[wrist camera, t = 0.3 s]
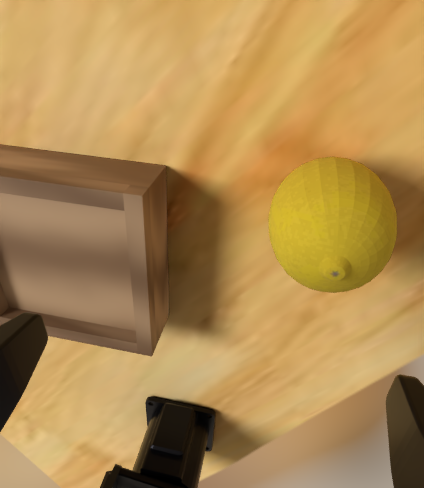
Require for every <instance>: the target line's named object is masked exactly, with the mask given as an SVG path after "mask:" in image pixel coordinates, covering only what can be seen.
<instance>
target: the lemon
mask: <svg viewBox="0 0 424 488" xmlns="http://www.w3.org/2000/svg"><path fill="white" fill-rule="evenodd" d="M268 222H269V237H270V241H271V244H272V247H273V250H274V253H275V255H276V258H277V260H278V262H279V263H280V264H281V266H282V267H283V268H284V270H285V271H286V272H287V274H288V275H290V276H291V277H292V278H293V279H294V280H296V281H297V282H298V283H300V284H302V285H304V286H306V287H308V288H310V289H314V290H317V291H321V292H333V293H336V292H345V291H349V290H352V289H355V288H359V287H361V286H363V285H364V284H366V283H368V282H370V281H371V280H372V279H373V278H375V277H376V276H377V275H378V274H379V273H380V272H381V271H382V270H383V268H384V267H385V265H386V264H387V262H388V261H389V259H390V257H391V255H392V252H393V249H394V245H395V242H396V237H397V215H396V210H395V206H394V203H393V201H392V198H391V195H390V193H389V191H388V189H387V188H386V186H385V185H384V184H383V182H382V181H381V180H380V178H379V177H378V176H377V175H376V174H375V173H374V172H372V171H371V170H370V169H368V168H367V167H366V166H364V165H363V164H361V163H358V162H355V161H353V160H350V159H347V158H339V157H326V158H318V159H315V160H312V161H310V162H307V163H304V164H303V165H301V166H300V167H298V168H296V169H295V170H293V171H292V172H291V173H290V174H289V175H288V176H287V177H286V178H285V179H284V180H283V182H282V183H281V184H280V186H279V188H278V190H277V192H276V193H275V195H274V197H273V200H272V204H271V208H270V212H269V219H268Z"/></svg>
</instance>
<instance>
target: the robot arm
mask: <svg viewBox="0 0 424 488" xmlns="http://www.w3.org/2000/svg"><path fill="white" fill-rule="evenodd" d="M47 341H48V334H47V331H46V327H45V324H44V321H43V318H42V316H41V315H40V314H37V313H31V312H24V313H22V314H20V315H18V316H16V317H15V318H13V319H11V320H9V321H7V322H5V323H4V324H2V325H0V432H1V430H2V429H3V427H4V425H5V424H6V422H7V420H8V419H9V417H10V415H11V414H12V412H13V410H14V409H15V407H16V405H17V403H18V402H19V400H20V398H21V396H22V395H23V393H24V391H25V389H26V387H27V384H28V382H29V380H30V378H31V376H32V374H33V372H34V370H35V368H36V365H37V363H38V361H39V359H40V357H41V355H42V353H43V351H44V348H45V346H46V344H47ZM386 413H387V425H388V437H389V450H390V463H391V473H392V479H393V485H394V488H424V385H423V384H422V383H421V382H420V381H419V380H418V379H417V378H415V377H412V376H405V375H397V376H396V377H395V379H394V381H393V384H392V386H391V388H390V390H389V392H388V394H387V398H386ZM146 414H147V426H148V428H147V431H146V434H145V437H144V439H143V442H142V445H141V448H140V451H139V453H138V456H137V459H136V462H135V465H134V467H133V470H129V469H125V468H122V466H120V465H117V464H115V466H114V468H113V470H112V471H107V472H106V474H105V477H104V479H103V481H102V484H101V486H100V488H198V483H199V478H200V474H201V469H202V464H203V459H204V455H205V451H211V450H212V445H213V435H214V424H215V412H214V411H213V410H211V409H206V408H201V407H197V406H192V405H187V404H183V403H178V402H173V401H168V400H164V399H159V398H154V397H148V398H147V400H146Z"/></svg>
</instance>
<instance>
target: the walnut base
mask: <svg viewBox="0 0 424 488" xmlns="http://www.w3.org/2000/svg"><path fill="white" fill-rule="evenodd" d="M24 312H31V313H37V314H40V315H41V316H42V318H43V321H44V324H45V327H46V331H47V334H48V336H52V337H57V338H62V339H67V340H72V341H77V342H82V343H87V344H92V345H97V346H102V347H107V348H112V349H117V350H122V351H127V352H132V353H137V354H142V355H148V356H152V355H153V353H154V350H155V348H156V345H157V343H158V341H159V338H160V336H161V333H162V331H163V329H164V326H165V324H166V321H167V319H168V316H169V282H168V233H167V184H166V166H165V165H158V164H150V163H142V162H134V161H126V160H118V159H110V158H102V157H94V156H86V155H79V154H71V153H63V152H55V151H47V150H39V149H31V148H23V147H15V146H8V145H0V325H2V324H4V323H5V322H7V321H9V320H11V319H13V318H15V317H16V316H18V315H20V314H22V313H24Z"/></svg>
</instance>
